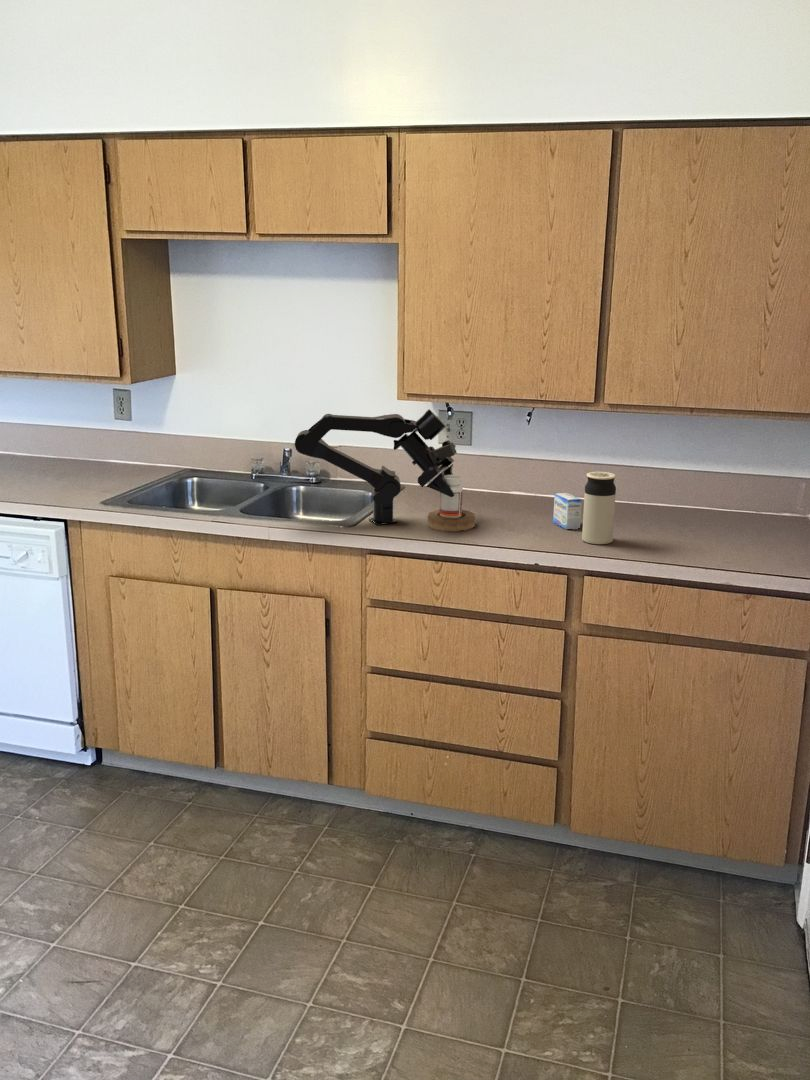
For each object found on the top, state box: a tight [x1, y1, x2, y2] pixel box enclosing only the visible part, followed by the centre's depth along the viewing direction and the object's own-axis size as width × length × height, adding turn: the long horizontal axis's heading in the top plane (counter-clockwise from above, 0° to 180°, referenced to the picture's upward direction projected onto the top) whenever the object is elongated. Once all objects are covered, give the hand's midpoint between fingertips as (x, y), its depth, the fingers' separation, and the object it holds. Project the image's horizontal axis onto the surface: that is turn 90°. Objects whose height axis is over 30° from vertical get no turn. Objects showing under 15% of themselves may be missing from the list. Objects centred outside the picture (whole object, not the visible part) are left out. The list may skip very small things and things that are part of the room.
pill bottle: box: [439, 474, 464, 518], centre depth 279 cm, size 6×6×11 cm
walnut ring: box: [427, 509, 476, 532], centre depth 281 cm, size 13×13×3 cm
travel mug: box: [581, 471, 617, 545], centre depth 264 cm, size 8×8×18 cm
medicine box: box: [552, 492, 583, 530], centre depth 279 cm, size 8×4×9 cm, turn 21°
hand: (456, 493), depth 278 cm, fingers closed on pill bottle, 6 cm apart
